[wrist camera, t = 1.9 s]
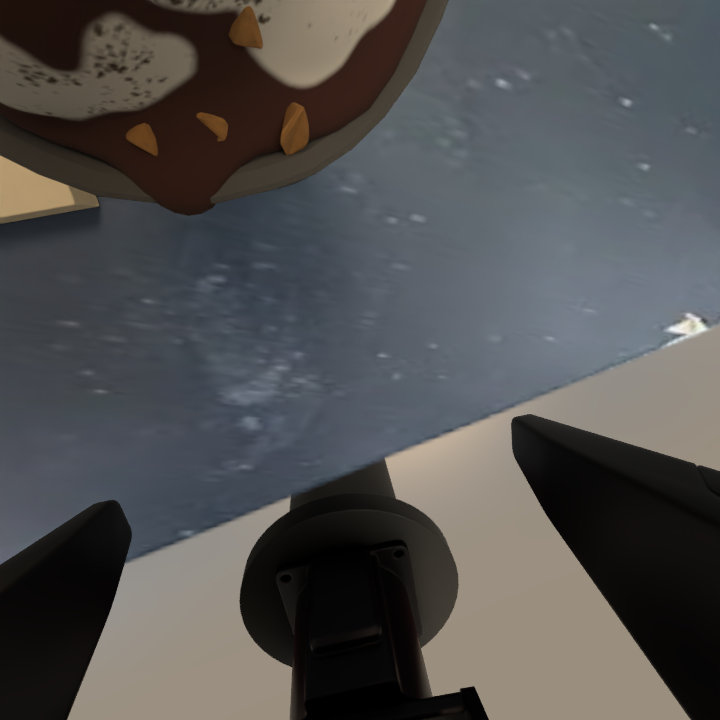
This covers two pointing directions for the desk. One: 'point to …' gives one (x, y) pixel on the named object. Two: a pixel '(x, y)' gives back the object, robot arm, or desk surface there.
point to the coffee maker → (36, 194)
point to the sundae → (199, 90)
